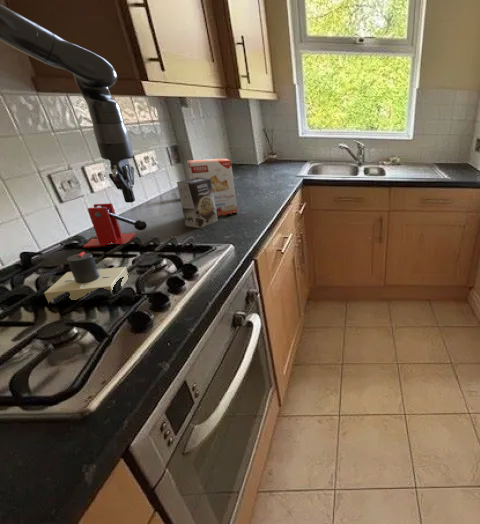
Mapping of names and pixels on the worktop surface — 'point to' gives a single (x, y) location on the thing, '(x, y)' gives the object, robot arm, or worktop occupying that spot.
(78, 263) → the knob
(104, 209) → the red lever stand
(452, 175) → the worktop surface
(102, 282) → the panel
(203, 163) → the cracker box
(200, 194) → the coffee box
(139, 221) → the lever
